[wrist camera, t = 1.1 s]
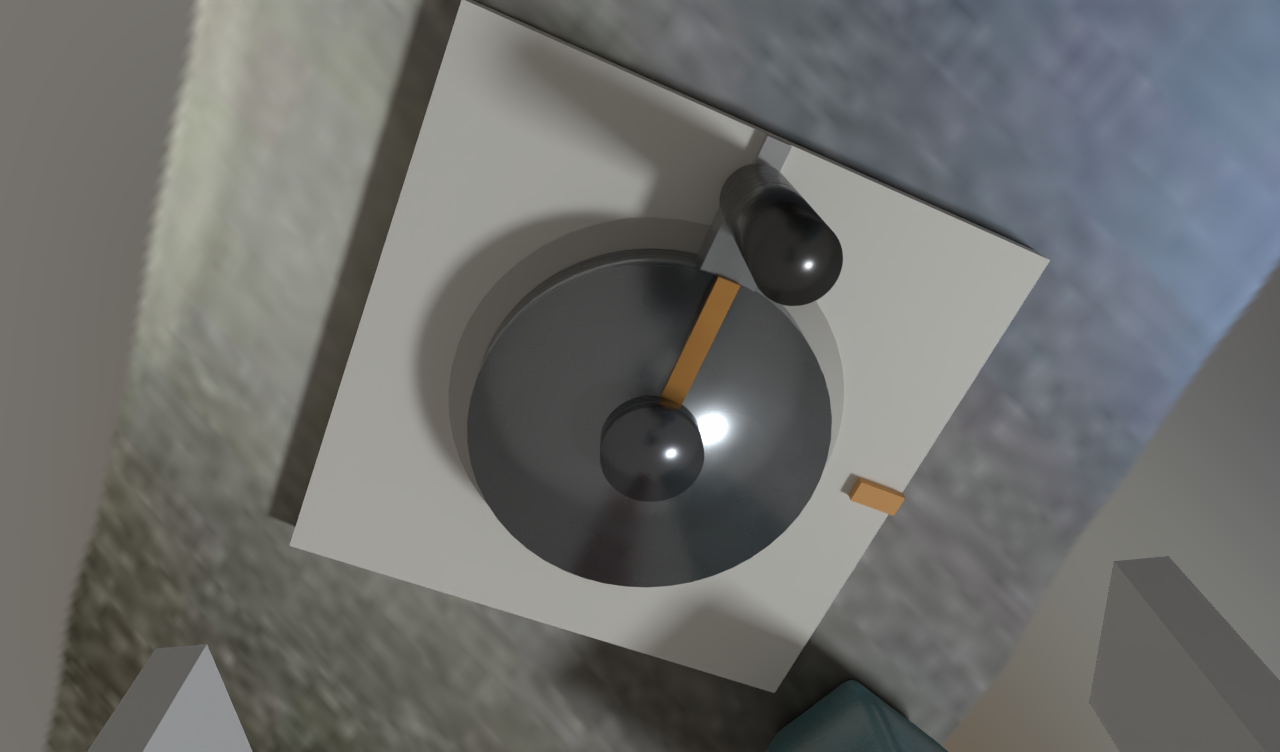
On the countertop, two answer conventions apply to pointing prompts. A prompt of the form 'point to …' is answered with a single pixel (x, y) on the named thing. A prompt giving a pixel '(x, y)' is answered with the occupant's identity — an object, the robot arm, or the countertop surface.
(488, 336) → the panel
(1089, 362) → the countertop surface
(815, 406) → the dial
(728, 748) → the countertop surface
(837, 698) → the flower pot
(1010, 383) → the countertop surface
